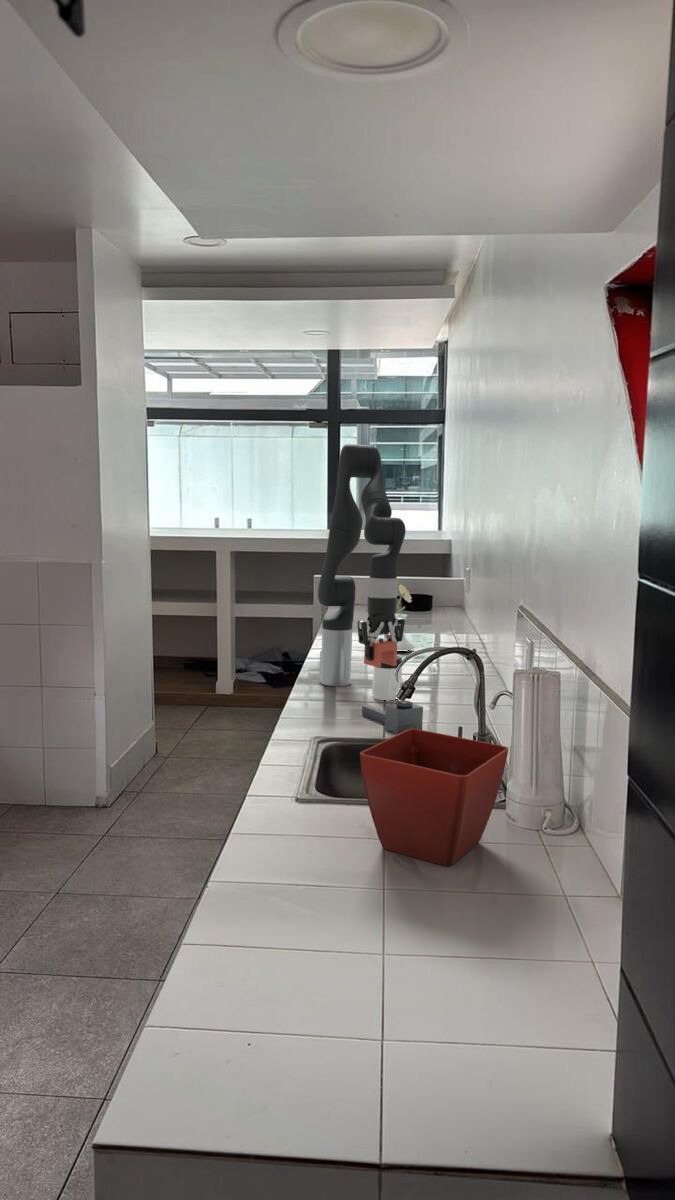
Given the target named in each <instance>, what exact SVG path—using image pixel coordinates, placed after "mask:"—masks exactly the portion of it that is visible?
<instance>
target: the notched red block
mask: <svg viewBox="0 0 675 1200" xmlns="http://www.w3.org/2000/svg"><path fill="white" fill-rule="evenodd" d="M373 647H374V660H373V661H369V660H367V659H366V657H365V649H366V646H365V645H364V653H363V654H364V655H363V659H364V660H363V664H365V665H367V666H372V667H373V666H374V667H378V668H379V667H381V663H385V664H388V665H392V666H396V663H397V656H398V652H397V643H396V642H392V641H388V640H387V639H384V638H383V637H382V638H380V637H378V639H376V640H375V643H374V645H373Z"/></svg>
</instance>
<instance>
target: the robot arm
mask: <svg viewBox="0 0 675 1200" xmlns="http://www.w3.org/2000/svg"><path fill="white" fill-rule="evenodd" d="M337 469H338V470H337V481H336V492H335V498H334V503H333V509H332V514H331V519H330V525H329V531H328V539H327V546H326V551H325V552H326V553H325V558H324V562H323V565H322V569H321V574H320V578H319V582H318V588H317V599H318V602H319V604H320V606H322V607H323V606H324V607H339V609H338V610H337V611H336V612H335V613H333V614H331V615H328V616H326V617H324V618H323V619H322V621H321V622H322V626H321V629H322V630H321V650H320V652H319V680H318V681H319V682H320V684H321V685H325V686H330V687H332V686H333V687H345V686H349V685H351V680H352V679H351V675H352V673H351V672H352V654H353V653H352V649H353V647H352V646H353V623H354V616H355V614H354V613H355V602H356V601H355V600H356V582H355V580H354V577H352V576H349V575H337V573H338V570H339V568H340V567H341V565H342V563H343V562H344V561H345V560H346V559H347V558H348V557H349V556H350V555H351V553H352V552H353V551H354V550H355V549H356V547H358V545H359V542H360V540H361V539H360V538H361V535H362V534H361V533H362V530H363V516H362V514H361V512H360V508H359V507H358V504H357V503H356V501H355V499H354V496H353V494H352V491H351V479H352V478H359V479H369V481H368V483H367V484H366V485H365V487H364V488H363V490H362V492H361V495H360V496H361V497H360V498H361V500H360V501H361V506H362V509H363V512H364V515H365V516H364V517H365V524H364V530H363V535H364V539H365V540H366V542H367V543H368V544H370V545H375V546H388V548H387V549H386V551H384V552H383V553H382V552H381V553H376V554H373V555H371V557H370V559H369V579H368V584H367V585H368V586H367V609H366V611H367V614H368V615H367V616H368V617H367V619H365V620H358V621H357V622H356V624H357V633H358V635H357V636H358V643H359V644H362V645H364V647H365V646H366V649H365V648H364V649H365V657H366V659H367V660H369V661H373V660H374V647H373V645H374V643H375V640H378V639H379V636H380V635H384V637H385V640H388V641H392V642H396V643H397V642H399V641H400V642H401V641H402V638H403V634H404V629H405V622H406V619H405V620H404V619H400V618H396V617H395V614H397V609H398V608H397V605H398V602H397V601H398V580H397V579H398V577H397V576H398V561H399V557H400V552H401V549H402V546H403V543H404V541H405V537H406V532H407V531H406V525H405V522H404V521H403V520H402V518H399V517H392V512H393V511H392V507H391V505H390V501H389V498H388V496H387V493H386V488H385V486H386V485H385V478H384V472H383V471H384V469H383V463H382V458H381V454H380V451H379V449H378V448H377V446H373V445H370V444H369V445H368V444H354V443H346V444H344V445H343V446H342V447H341V450H340V454H339V459H338V468H337ZM398 632H399V633H398Z"/></svg>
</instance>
